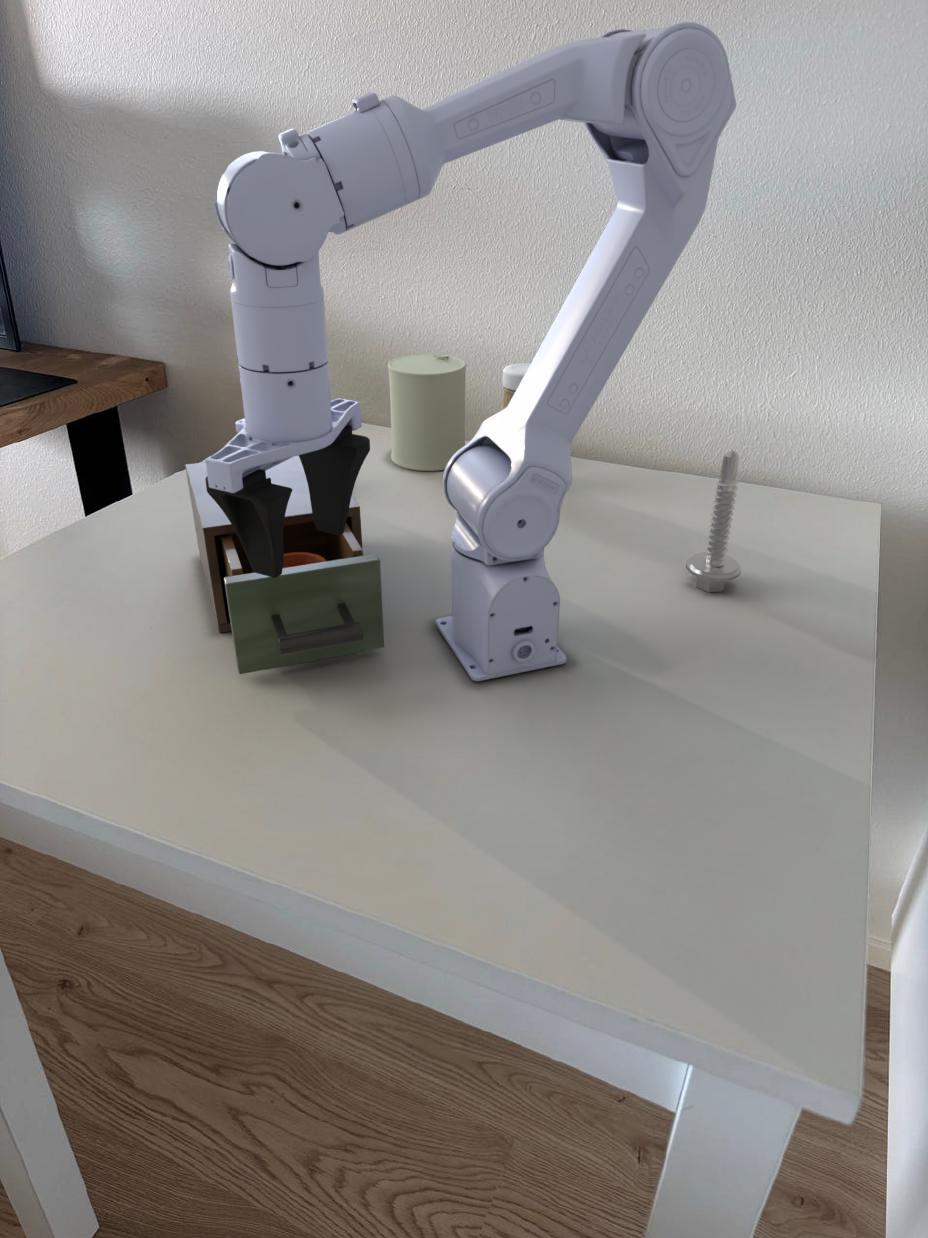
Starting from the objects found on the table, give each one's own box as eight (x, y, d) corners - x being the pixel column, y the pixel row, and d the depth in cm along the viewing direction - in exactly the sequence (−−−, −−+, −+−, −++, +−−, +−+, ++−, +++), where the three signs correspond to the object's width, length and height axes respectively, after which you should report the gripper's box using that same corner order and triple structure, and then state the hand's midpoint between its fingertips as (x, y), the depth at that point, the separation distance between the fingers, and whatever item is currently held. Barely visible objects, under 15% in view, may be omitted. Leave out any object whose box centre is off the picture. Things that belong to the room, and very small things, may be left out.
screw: (740, 578, 84) (734, 602, 80) (688, 569, 85) (679, 593, 82) (764, 444, 77) (759, 463, 73) (707, 437, 79) (698, 455, 75)
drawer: (401, 679, 68) (398, 588, 64) (248, 709, 65) (234, 615, 61) (344, 573, 83) (338, 493, 79) (217, 593, 79) (204, 511, 75)
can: (479, 453, 112) (481, 355, 106) (440, 476, 106) (439, 374, 99) (417, 439, 116) (415, 345, 110) (376, 462, 110) (371, 362, 103)
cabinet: (366, 607, 79) (360, 506, 74) (219, 633, 75) (202, 528, 70) (328, 539, 91) (321, 448, 86) (200, 558, 87) (185, 464, 82)
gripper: (299, 331, 65) (313, 505, 72) (155, 380, 54) (187, 580, 61) (383, 343, 63) (388, 523, 70) (249, 397, 52) (271, 604, 58)
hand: (300, 551), depth 65 cm, fingers open, 7 cm apart
